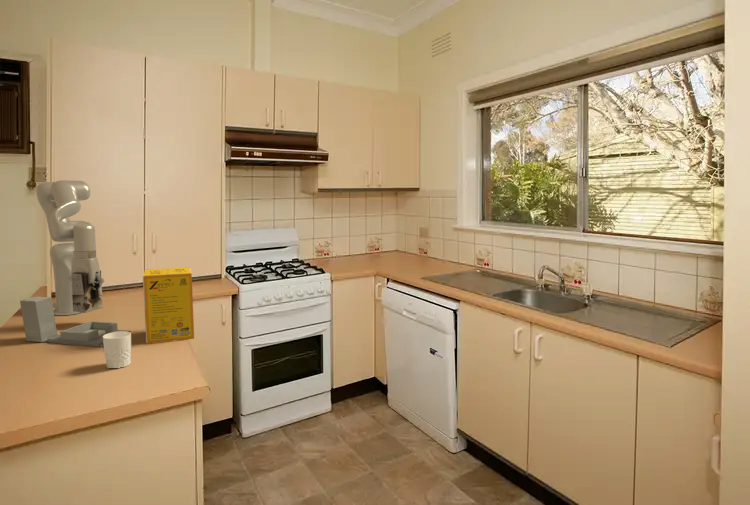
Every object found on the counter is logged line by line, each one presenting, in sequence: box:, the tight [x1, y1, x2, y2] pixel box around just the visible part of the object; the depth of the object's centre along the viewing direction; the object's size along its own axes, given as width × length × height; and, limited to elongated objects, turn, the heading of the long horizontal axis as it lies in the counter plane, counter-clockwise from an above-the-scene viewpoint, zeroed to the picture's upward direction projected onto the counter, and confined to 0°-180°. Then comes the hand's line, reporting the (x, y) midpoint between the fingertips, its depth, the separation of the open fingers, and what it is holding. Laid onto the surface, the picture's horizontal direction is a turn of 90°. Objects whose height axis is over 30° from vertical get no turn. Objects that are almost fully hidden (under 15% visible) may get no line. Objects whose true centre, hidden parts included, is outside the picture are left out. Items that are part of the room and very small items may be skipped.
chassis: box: [46, 320, 132, 347], centre depth 176 cm, size 22×16×4 cm
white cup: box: [102, 330, 132, 369], centre depth 148 cm, size 8×8×10 cm
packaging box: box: [142, 266, 195, 344], centre depth 179 cm, size 16×16×25 cm
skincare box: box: [19, 296, 58, 343], centre depth 172 cm, size 8×7×16 cm
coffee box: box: [71, 270, 103, 314], centre depth 191 cm, size 9×6×16 cm
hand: (87, 297), depth 191 cm, fingers closed on coffee box, 6 cm apart
